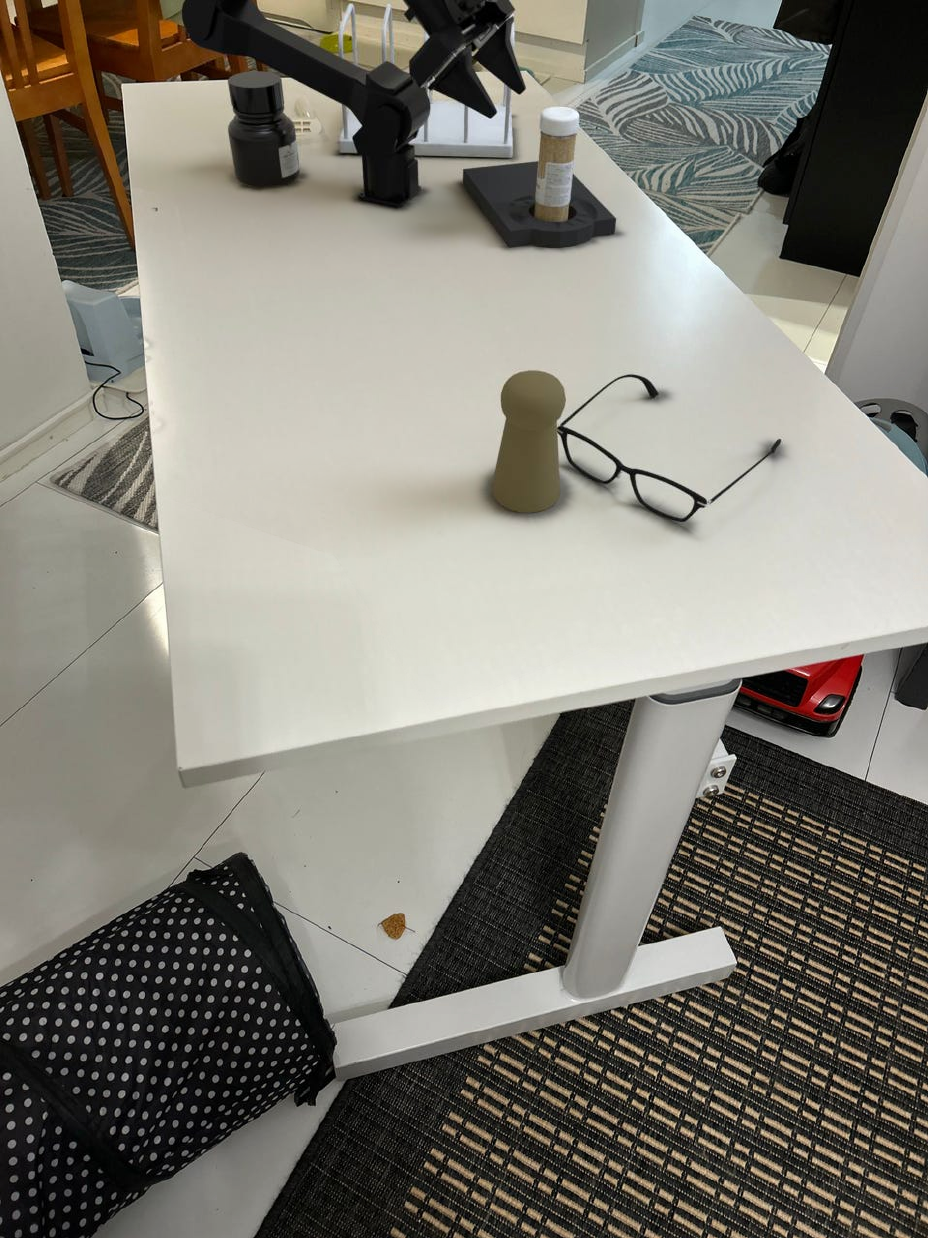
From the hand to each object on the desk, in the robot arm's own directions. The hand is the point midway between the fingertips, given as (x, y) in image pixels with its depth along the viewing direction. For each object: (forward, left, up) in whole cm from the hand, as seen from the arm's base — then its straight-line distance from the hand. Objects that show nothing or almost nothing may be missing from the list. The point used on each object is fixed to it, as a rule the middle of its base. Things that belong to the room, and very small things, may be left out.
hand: (508, 103), depth 107 cm
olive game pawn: (+24, -50, -14) cm, 57 cm away
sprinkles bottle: (+6, 0, -14) cm, 15 cm away
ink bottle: (-34, -2, -14) cm, 37 cm away
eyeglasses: (+34, -40, -14) cm, 54 cm away
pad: (+3, +5, -13) cm, 14 cm away
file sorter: (-22, +22, -14) cm, 34 cm away
